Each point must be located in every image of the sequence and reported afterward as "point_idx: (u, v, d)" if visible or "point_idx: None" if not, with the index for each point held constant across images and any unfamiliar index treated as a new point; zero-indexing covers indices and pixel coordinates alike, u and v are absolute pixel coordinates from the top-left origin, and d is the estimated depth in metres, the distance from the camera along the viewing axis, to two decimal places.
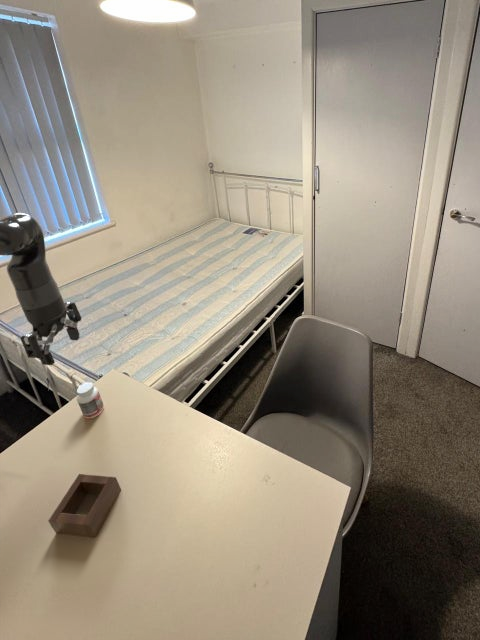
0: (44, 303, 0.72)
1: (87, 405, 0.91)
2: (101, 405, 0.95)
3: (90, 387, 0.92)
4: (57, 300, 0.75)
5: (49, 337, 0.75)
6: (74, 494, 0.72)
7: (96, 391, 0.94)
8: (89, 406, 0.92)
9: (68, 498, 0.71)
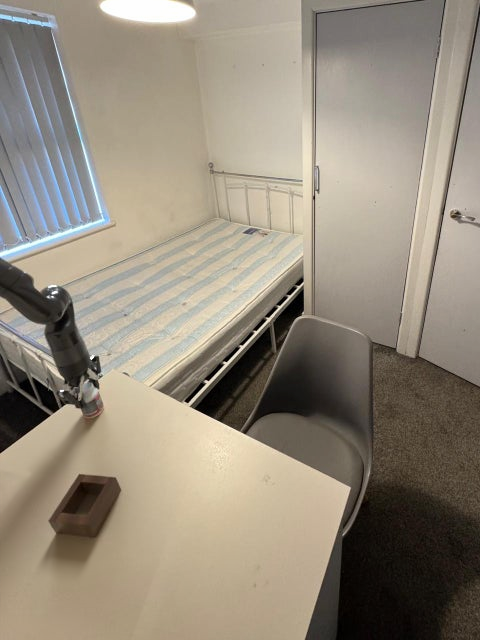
0: (74, 360, 0.84)
1: (87, 405, 0.91)
2: (101, 405, 0.95)
3: (90, 387, 0.92)
4: (85, 356, 0.87)
5: (80, 388, 0.88)
6: (74, 494, 0.72)
7: (96, 391, 0.94)
8: (89, 406, 0.92)
9: (68, 498, 0.71)
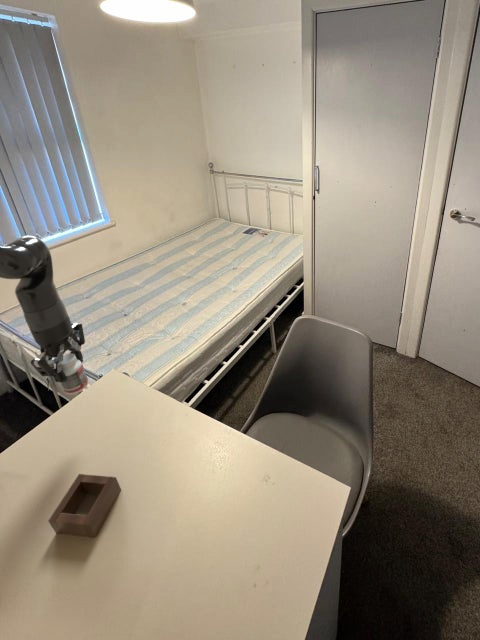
0: (52, 324, 0.73)
1: (69, 378, 0.80)
2: (85, 380, 0.84)
3: (72, 358, 0.81)
4: (65, 321, 0.76)
5: (59, 357, 0.77)
6: (74, 494, 0.72)
7: (79, 363, 0.82)
8: (71, 380, 0.81)
9: (68, 498, 0.71)
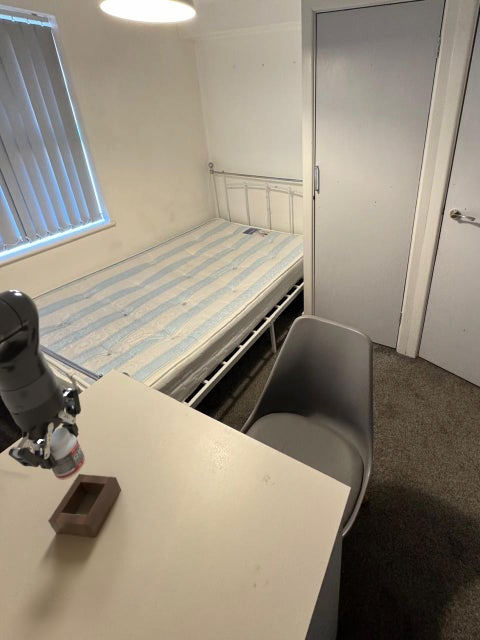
0: (37, 403, 0.56)
1: (59, 462, 0.63)
2: (81, 459, 0.67)
3: (64, 436, 0.64)
4: (54, 395, 0.59)
5: (47, 440, 0.60)
6: (74, 494, 0.72)
7: (73, 441, 0.65)
8: (62, 464, 0.64)
9: (68, 498, 0.71)
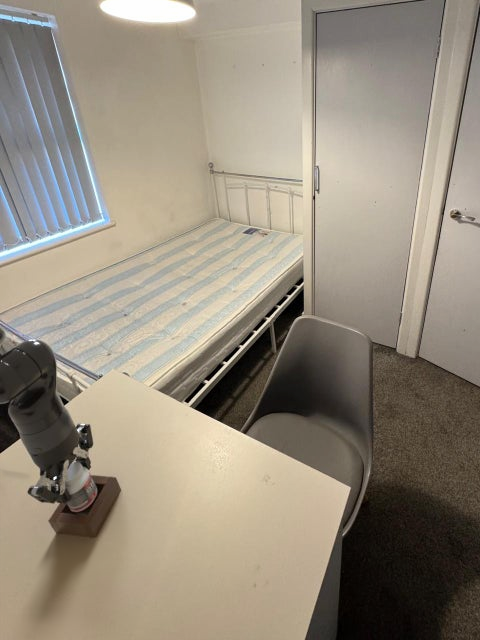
0: (54, 444, 0.59)
1: (74, 496, 0.66)
2: (93, 491, 0.70)
3: (78, 471, 0.67)
4: (70, 435, 0.62)
5: (62, 477, 0.63)
6: None
7: (86, 474, 0.69)
8: (76, 497, 0.67)
9: None
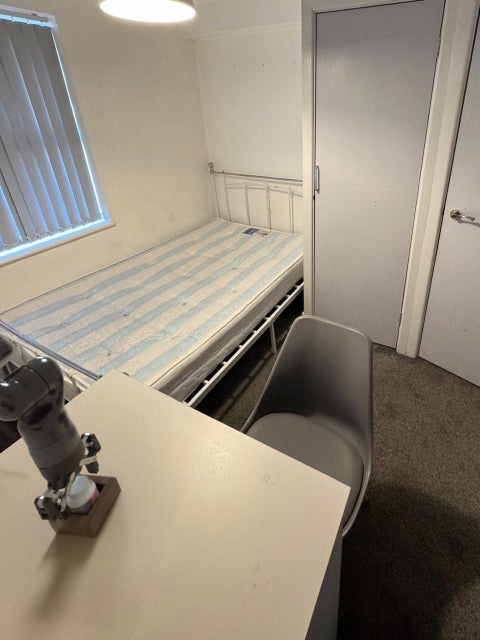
0: (61, 458, 0.61)
1: (80, 509, 0.68)
2: None
3: (84, 484, 0.69)
4: (76, 448, 0.64)
5: (67, 491, 0.64)
6: None
7: (92, 487, 0.71)
8: (83, 510, 0.69)
9: None
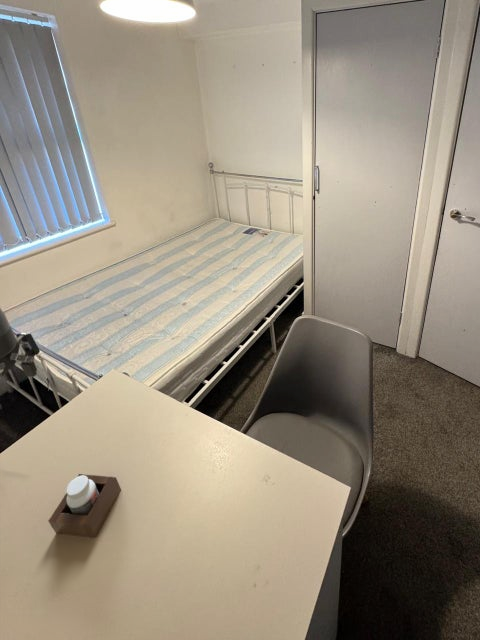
0: None
1: (80, 509, 0.68)
2: None
3: (84, 484, 0.69)
4: (4, 336, 0.62)
5: None
6: None
7: (92, 487, 0.71)
8: (83, 510, 0.69)
9: None
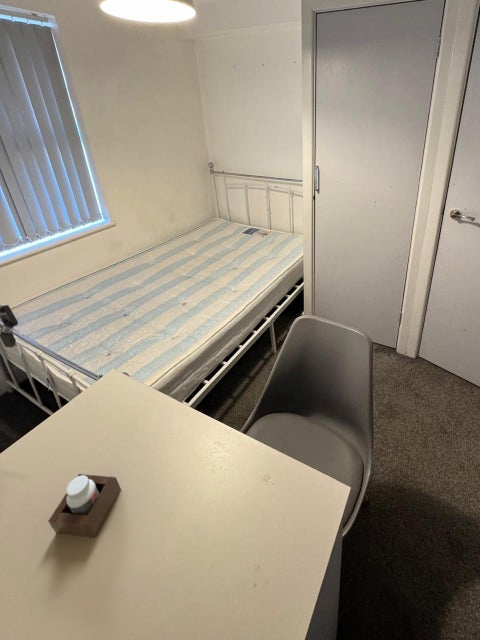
0: None
1: (80, 509, 0.68)
2: None
3: (84, 484, 0.69)
4: None
5: None
6: None
7: (92, 487, 0.71)
8: (83, 510, 0.69)
9: None
